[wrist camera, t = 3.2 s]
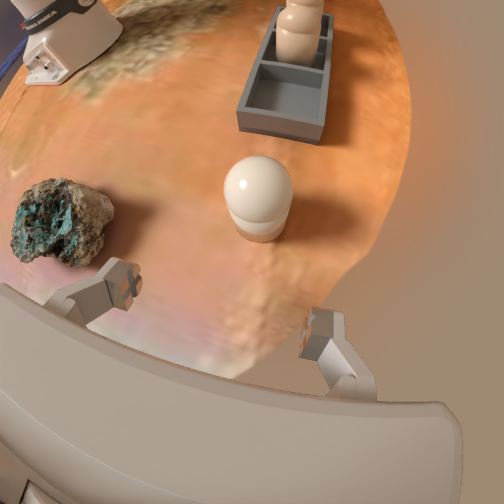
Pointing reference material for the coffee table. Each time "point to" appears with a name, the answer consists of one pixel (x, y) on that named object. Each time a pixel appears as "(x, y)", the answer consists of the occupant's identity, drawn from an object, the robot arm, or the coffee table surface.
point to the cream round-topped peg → (259, 197)
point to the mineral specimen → (60, 222)
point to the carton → (290, 75)
